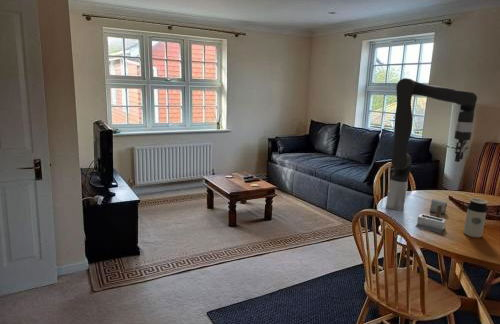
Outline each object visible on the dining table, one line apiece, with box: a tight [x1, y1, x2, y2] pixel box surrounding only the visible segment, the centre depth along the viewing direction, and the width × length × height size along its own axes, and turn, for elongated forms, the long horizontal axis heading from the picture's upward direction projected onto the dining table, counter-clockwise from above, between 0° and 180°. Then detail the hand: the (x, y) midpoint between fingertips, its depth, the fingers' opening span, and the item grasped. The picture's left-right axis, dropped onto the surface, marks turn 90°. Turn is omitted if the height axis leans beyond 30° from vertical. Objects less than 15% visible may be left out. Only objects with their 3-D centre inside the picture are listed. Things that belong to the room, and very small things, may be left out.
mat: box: [415, 224, 443, 234], centre depth 189 cm, size 12×10×1 cm
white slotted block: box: [416, 213, 447, 232], centre depth 188 cm, size 12×6×4 cm, turn 52°
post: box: [435, 205, 442, 218], centre depth 197 cm, size 2×2×9 cm
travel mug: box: [463, 197, 489, 238], centre depth 179 cm, size 8×8×18 cm
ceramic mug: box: [429, 198, 448, 215], centre depth 211 cm, size 11×8×8 cm
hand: (458, 160), depth 195 cm, fingers open, 8 cm apart
